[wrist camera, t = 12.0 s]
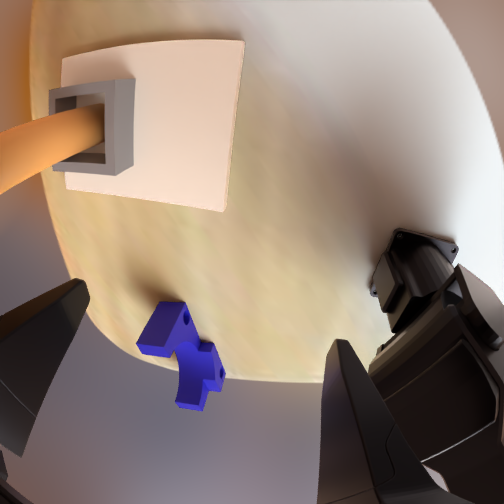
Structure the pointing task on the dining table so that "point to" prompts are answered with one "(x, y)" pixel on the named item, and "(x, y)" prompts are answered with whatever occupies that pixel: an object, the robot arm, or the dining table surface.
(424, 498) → the robot arm
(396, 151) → the dining table surface
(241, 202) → the dining table surface
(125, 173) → the keeper plate
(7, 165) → the toggle bar
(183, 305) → the cable clip
